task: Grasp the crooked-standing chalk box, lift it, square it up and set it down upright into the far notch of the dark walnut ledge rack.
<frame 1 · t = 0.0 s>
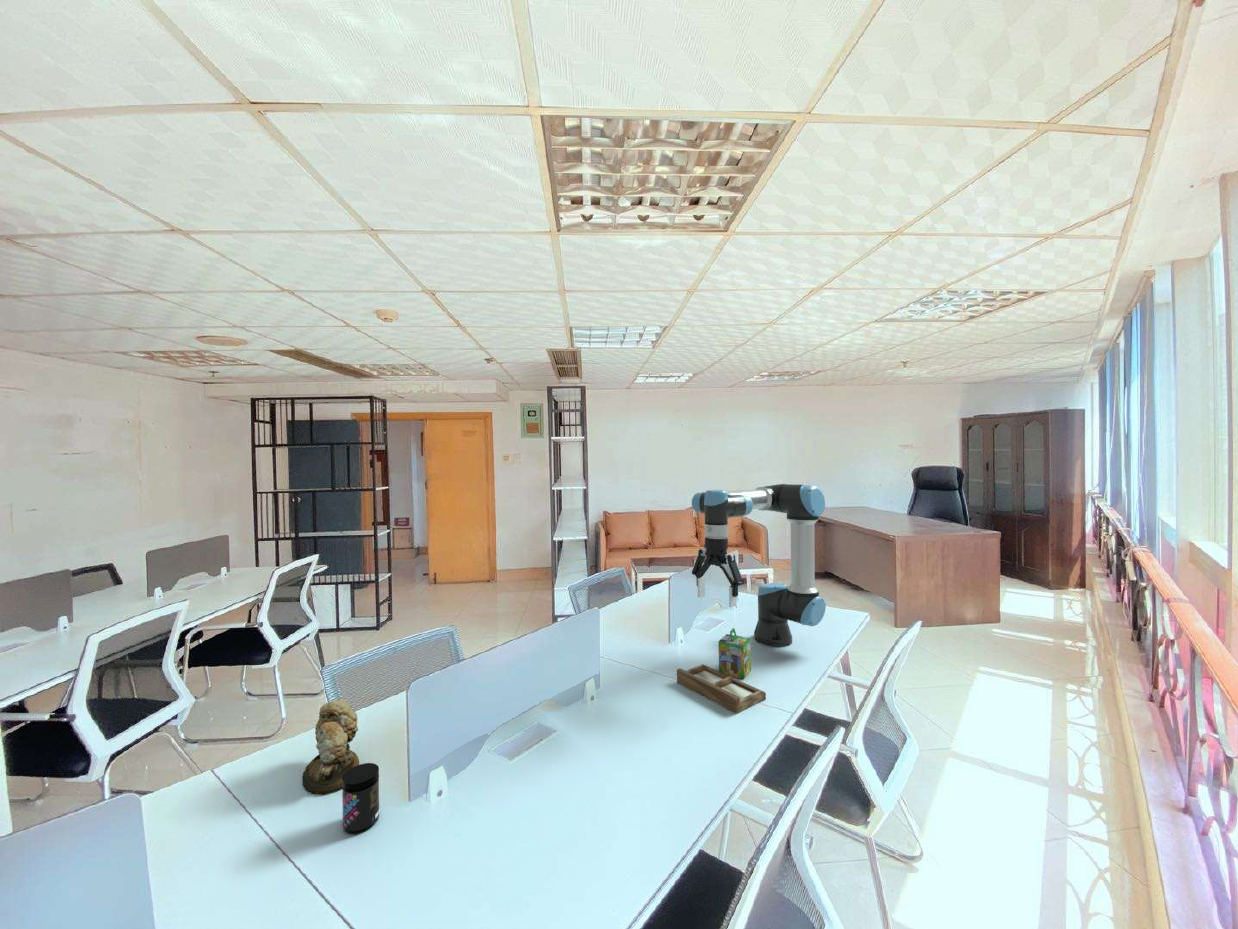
hand: (716, 601, 157), 28 cm above the table, fingers open, 13 cm apart
walnut ledge: (719, 690, 154), on the table
tan statuette: (331, 773, 115), on the table
chalk box: (735, 672, 168), on the table
supplement container: (361, 824, 99), on the table
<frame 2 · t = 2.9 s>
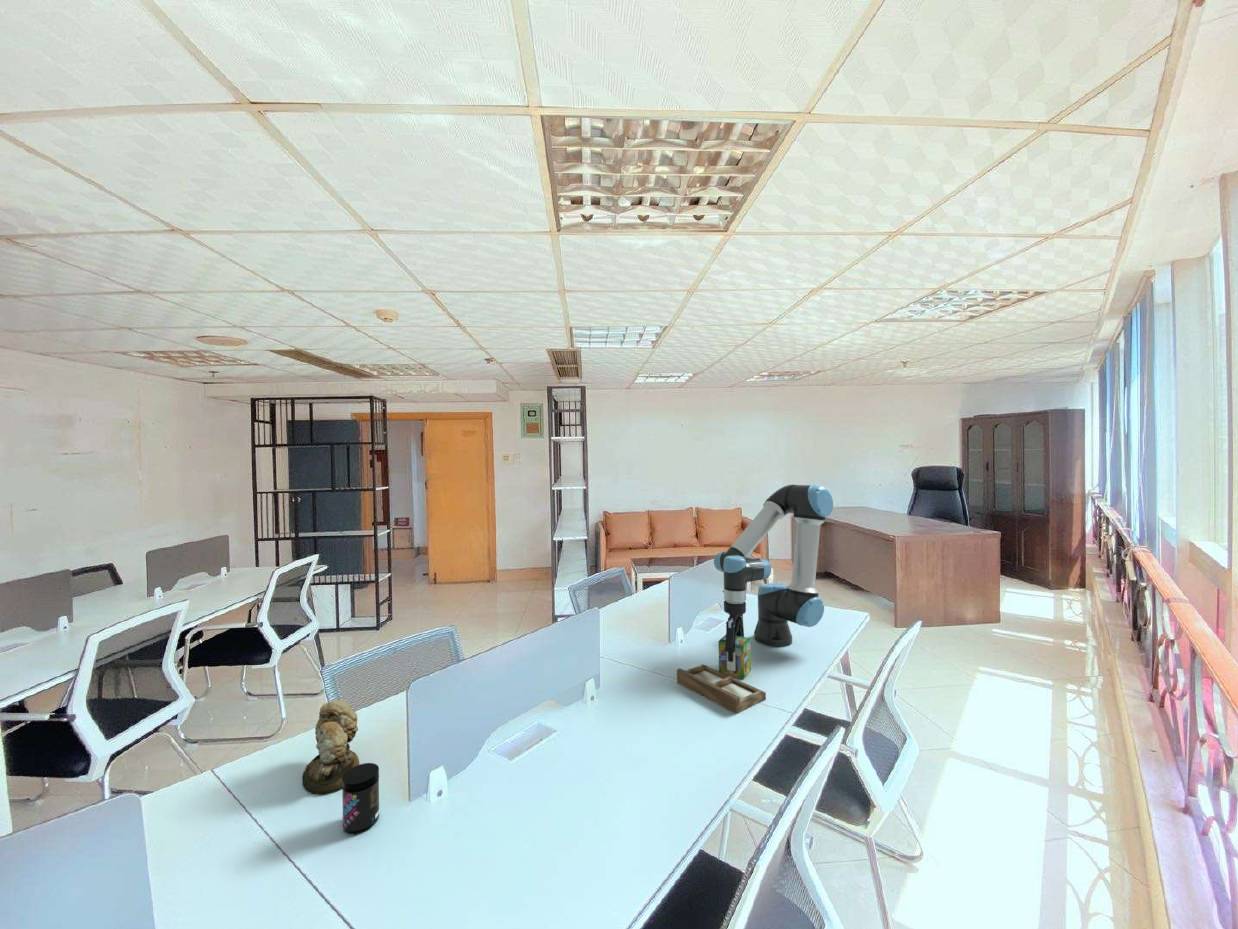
hand: (735, 664, 168), 3 cm above the table, fingers closed on chalk box, 9 cm apart
chalk box: (735, 672, 168), on the table, touching gripper
everything else where it was.
when the fingers open (6 cm above the table, at t = 8.1 s): chalk box drops 2 cm, resting on walnut ledge.
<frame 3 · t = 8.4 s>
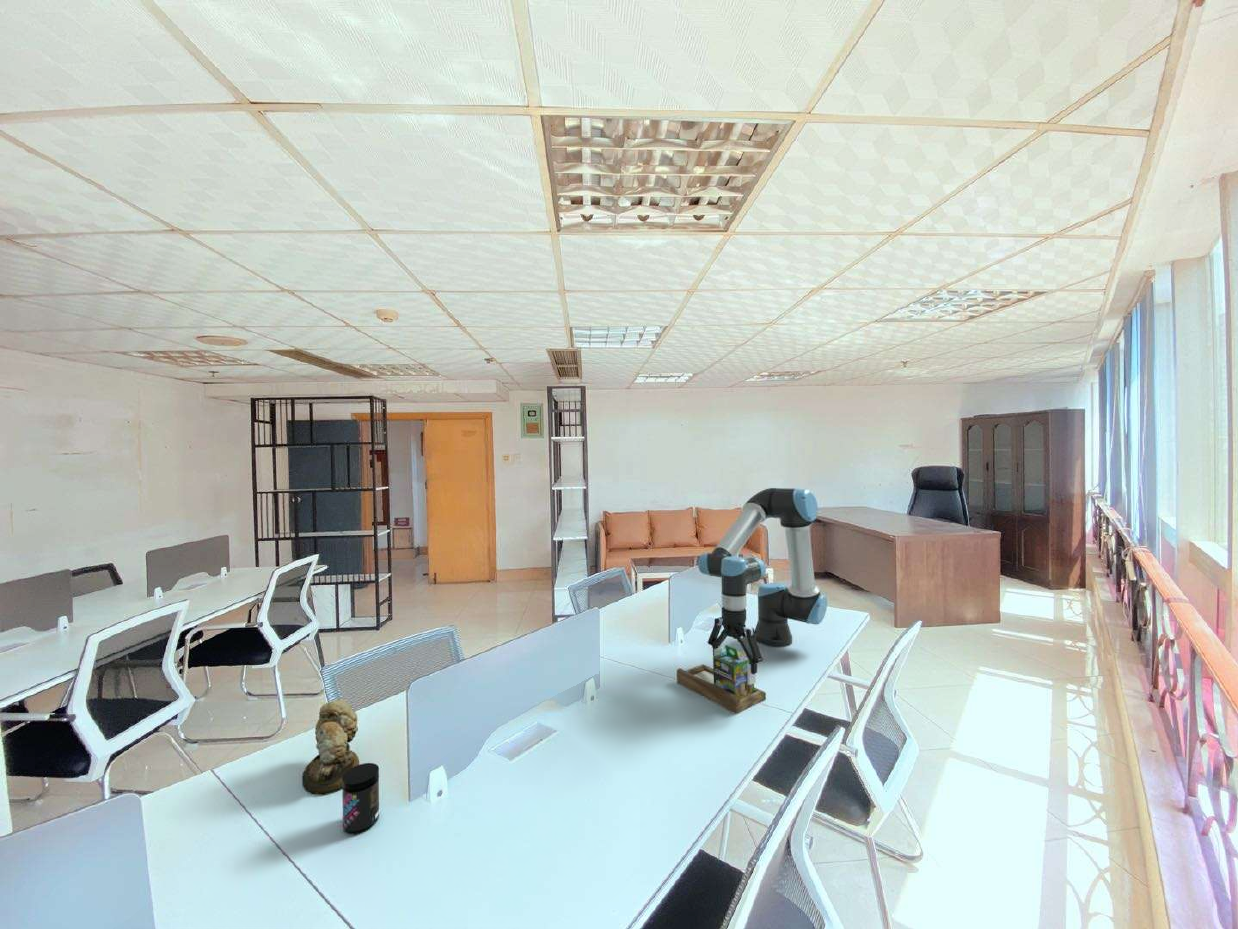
hand: (734, 675, 150), 7 cm above the table, fingers open, 12 cm apart
chalk box: (733, 693, 150), point 1 cm above the table, touching walnut ledge
everything else where it was.
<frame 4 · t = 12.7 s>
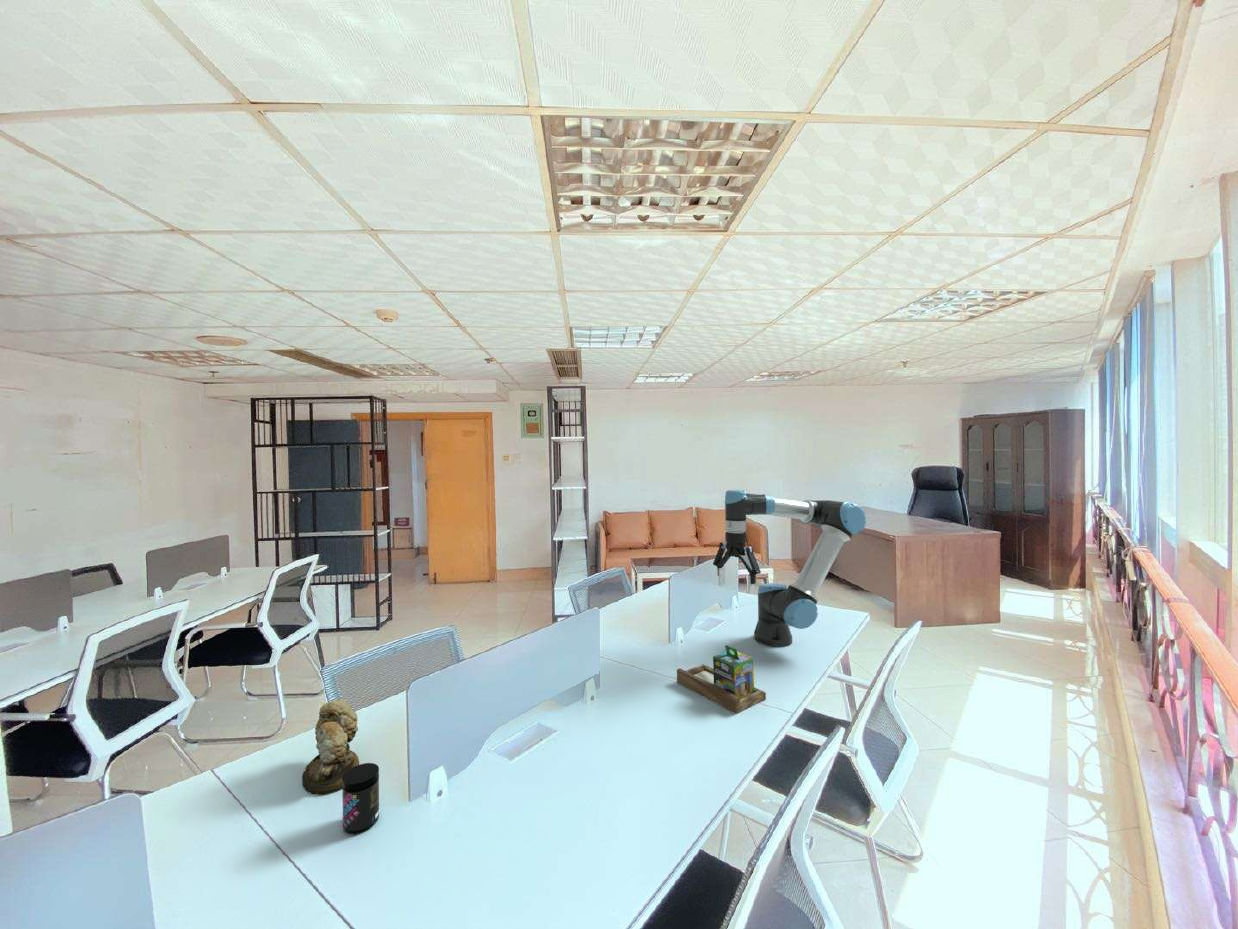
hand: (736, 588, 178), 27 cm above the table, fingers open, 13 cm apart
nothing on the table moved.
at the end: chalk box 0.4 cm from the target spot on the walnut ledge, point 1.2 cm above the walnut ledge's base; chalk box tilted 0°; the gripper is holding nothing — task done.
